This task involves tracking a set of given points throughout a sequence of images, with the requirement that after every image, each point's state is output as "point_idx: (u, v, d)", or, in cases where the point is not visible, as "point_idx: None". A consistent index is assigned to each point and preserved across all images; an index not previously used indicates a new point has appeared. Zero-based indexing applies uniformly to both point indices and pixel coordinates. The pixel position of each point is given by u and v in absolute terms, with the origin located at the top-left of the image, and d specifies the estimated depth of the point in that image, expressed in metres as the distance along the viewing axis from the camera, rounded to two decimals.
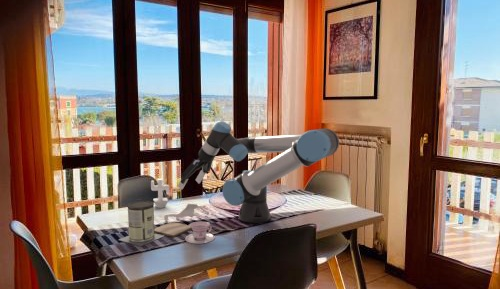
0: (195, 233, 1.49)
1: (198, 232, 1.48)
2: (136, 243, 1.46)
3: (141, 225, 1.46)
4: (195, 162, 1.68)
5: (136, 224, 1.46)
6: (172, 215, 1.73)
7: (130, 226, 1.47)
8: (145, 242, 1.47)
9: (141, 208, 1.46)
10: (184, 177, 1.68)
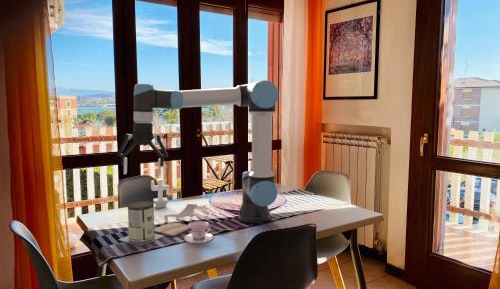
0: (194, 233, 1.49)
1: (197, 232, 1.48)
2: (136, 243, 1.46)
3: (141, 225, 1.46)
4: (160, 136, 1.52)
5: (136, 224, 1.46)
6: (172, 215, 1.73)
7: (130, 226, 1.47)
8: (145, 242, 1.47)
9: (141, 208, 1.46)
10: None
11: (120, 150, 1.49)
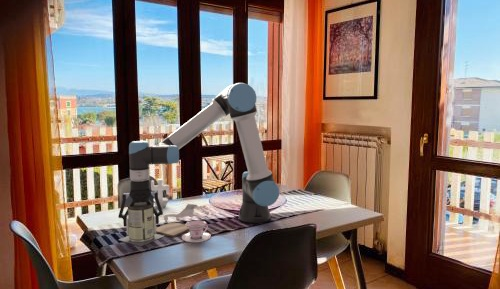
0: (191, 232, 1.50)
1: (194, 231, 1.49)
2: (136, 243, 1.46)
3: (141, 225, 1.46)
4: (157, 193, 1.52)
5: (136, 224, 1.46)
6: (172, 215, 1.73)
7: (130, 226, 1.47)
8: (145, 242, 1.47)
9: (141, 208, 1.46)
10: (162, 211, 1.54)
11: (121, 211, 1.48)
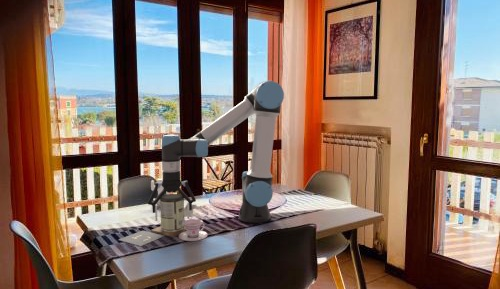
0: (188, 230, 1.52)
1: (191, 230, 1.51)
2: (136, 243, 1.46)
3: (173, 216, 1.56)
4: None
5: (168, 215, 1.56)
6: None
7: (163, 217, 1.57)
8: (145, 242, 1.47)
9: (173, 200, 1.55)
10: None
11: (151, 198, 1.57)
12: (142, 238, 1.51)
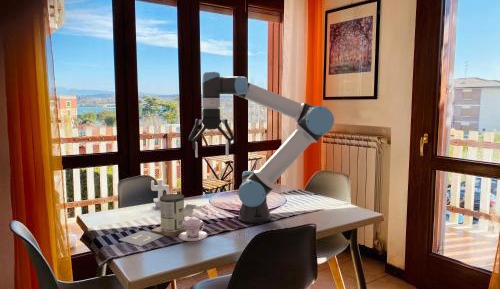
0: (188, 231, 1.52)
1: (191, 230, 1.51)
2: (136, 243, 1.46)
3: (173, 216, 1.56)
4: None
5: (168, 215, 1.56)
6: None
7: (163, 217, 1.57)
8: (145, 242, 1.47)
9: (173, 200, 1.55)
10: None
11: (192, 135, 1.59)
12: (142, 238, 1.51)
